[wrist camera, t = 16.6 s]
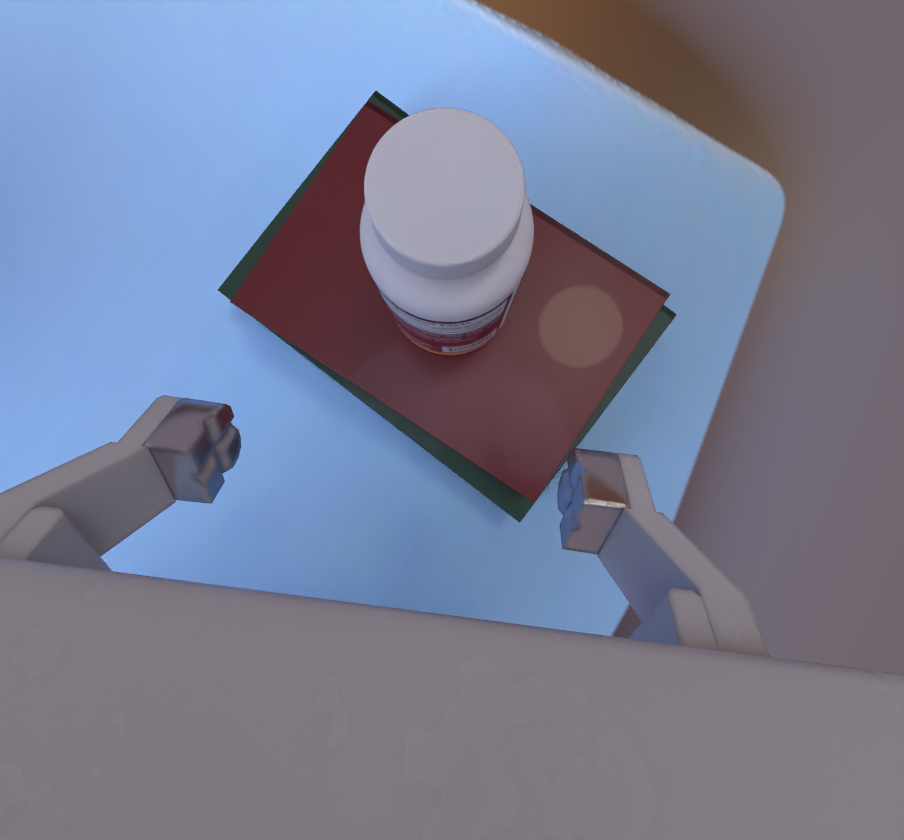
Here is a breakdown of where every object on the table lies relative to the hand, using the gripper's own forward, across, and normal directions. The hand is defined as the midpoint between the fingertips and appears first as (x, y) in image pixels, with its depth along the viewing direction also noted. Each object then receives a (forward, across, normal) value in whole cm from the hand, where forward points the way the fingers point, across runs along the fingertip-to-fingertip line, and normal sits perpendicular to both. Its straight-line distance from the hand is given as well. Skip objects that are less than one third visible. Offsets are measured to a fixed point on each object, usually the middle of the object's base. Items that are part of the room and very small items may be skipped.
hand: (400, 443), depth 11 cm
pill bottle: (+14, 0, +4) cm, 15 cm away
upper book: (+16, 0, +6) cm, 17 cm away
